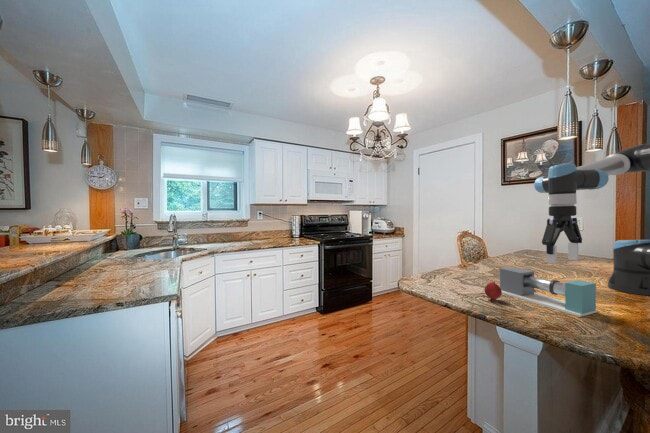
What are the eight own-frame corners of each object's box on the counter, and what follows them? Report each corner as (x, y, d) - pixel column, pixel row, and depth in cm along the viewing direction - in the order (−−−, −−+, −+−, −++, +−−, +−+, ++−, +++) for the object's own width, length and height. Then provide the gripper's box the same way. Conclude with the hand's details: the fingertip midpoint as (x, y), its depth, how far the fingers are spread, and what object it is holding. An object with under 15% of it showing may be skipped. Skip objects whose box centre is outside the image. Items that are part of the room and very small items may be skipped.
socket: (579, 305, 90) (579, 279, 90) (595, 310, 86) (595, 283, 86) (565, 309, 88) (565, 282, 87) (581, 314, 83) (581, 286, 83)
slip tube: (519, 287, 103) (519, 274, 103) (528, 285, 105) (528, 273, 105) (578, 302, 85) (578, 287, 85) (587, 300, 87) (587, 285, 87)
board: (514, 289, 113) (514, 287, 113) (597, 312, 87) (597, 309, 87) (497, 292, 109) (497, 290, 109) (579, 316, 83) (579, 314, 83)
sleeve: (511, 287, 112) (511, 267, 112) (534, 293, 104) (534, 271, 104) (500, 289, 110) (499, 268, 110) (521, 296, 101) (521, 273, 101)
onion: (485, 301, 99) (485, 281, 98) (483, 296, 104) (483, 278, 104) (502, 303, 96) (502, 283, 96) (500, 298, 101) (500, 279, 101)
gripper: (569, 205, 99) (569, 256, 99) (529, 206, 91) (530, 262, 91) (594, 204, 92) (594, 259, 92) (553, 205, 84) (554, 266, 84)
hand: (562, 261), depth 92 cm, fingers open, 13 cm apart
